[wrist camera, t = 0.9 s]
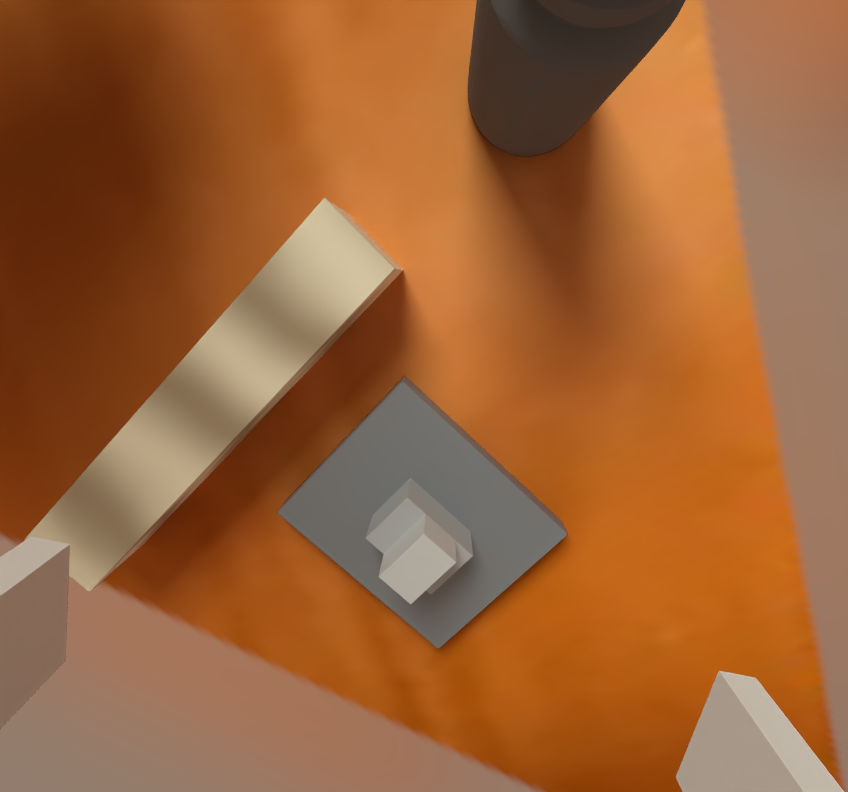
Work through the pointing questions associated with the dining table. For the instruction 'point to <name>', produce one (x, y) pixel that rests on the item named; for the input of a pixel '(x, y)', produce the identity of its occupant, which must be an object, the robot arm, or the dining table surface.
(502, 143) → the bottle
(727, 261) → the dining table surface
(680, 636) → the dining table surface
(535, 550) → the fulcrum
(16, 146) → the dining table surface
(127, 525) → the beam
